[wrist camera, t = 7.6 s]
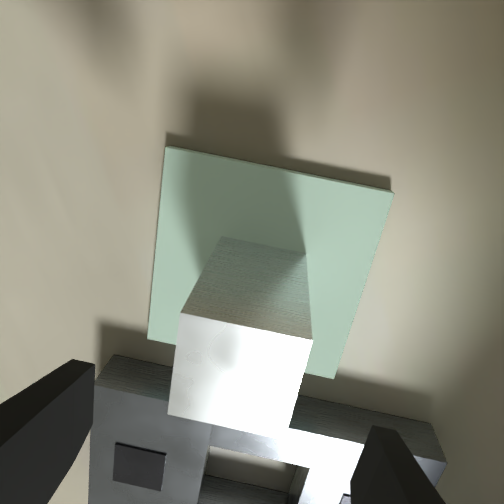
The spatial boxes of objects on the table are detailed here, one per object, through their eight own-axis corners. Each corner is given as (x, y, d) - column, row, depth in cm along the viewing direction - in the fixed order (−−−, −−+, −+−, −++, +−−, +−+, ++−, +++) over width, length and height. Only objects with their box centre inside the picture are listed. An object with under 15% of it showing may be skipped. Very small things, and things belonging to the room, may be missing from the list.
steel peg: (306, 253, 18) (312, 340, 12) (287, 326, 20) (284, 439, 13) (221, 236, 18) (180, 312, 12) (209, 310, 20) (167, 414, 13)
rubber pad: (391, 190, 17) (394, 193, 17) (332, 371, 21) (333, 379, 20) (169, 145, 17) (165, 147, 17) (150, 332, 21) (147, 338, 21)
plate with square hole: (430, 424, 22) (448, 464, 19) (376, 539, 25) (385, 585, 23) (113, 354, 22) (91, 386, 20) (106, 478, 26) (87, 517, 23)
